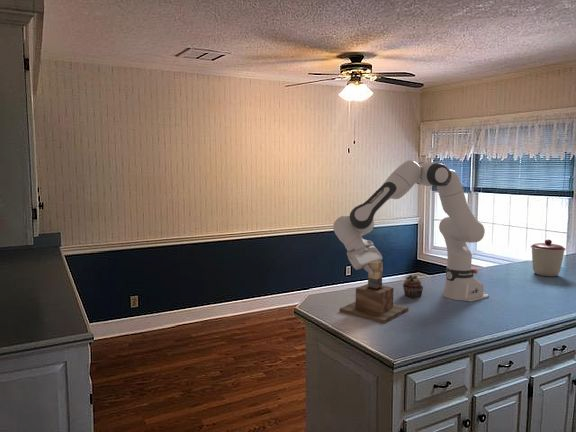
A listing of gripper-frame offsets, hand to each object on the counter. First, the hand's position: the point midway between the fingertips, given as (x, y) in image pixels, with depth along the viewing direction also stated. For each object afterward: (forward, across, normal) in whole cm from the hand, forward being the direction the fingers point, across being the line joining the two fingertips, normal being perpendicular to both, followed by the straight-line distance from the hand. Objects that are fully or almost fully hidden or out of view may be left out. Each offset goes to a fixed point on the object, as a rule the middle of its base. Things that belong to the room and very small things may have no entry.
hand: (376, 272), depth 202 cm
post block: (+12, 0, +13) cm, 17 cm away
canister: (+42, +128, -17) cm, 135 cm away
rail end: (+4, 0, +5) cm, 6 cm away
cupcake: (+14, +34, +11) cm, 38 cm away
